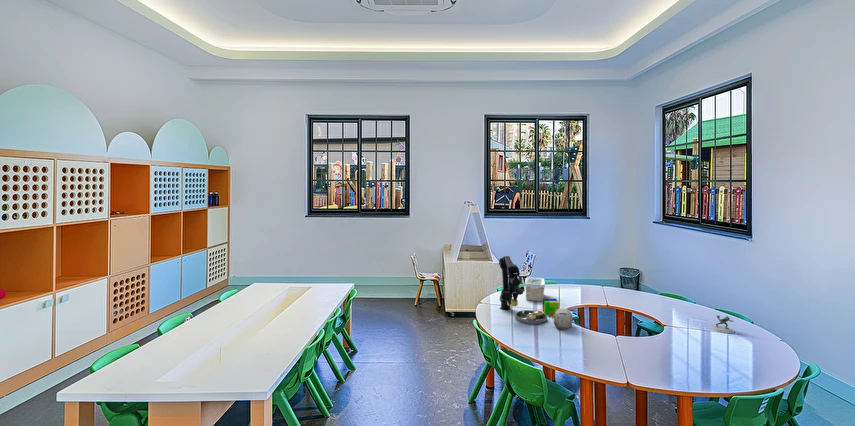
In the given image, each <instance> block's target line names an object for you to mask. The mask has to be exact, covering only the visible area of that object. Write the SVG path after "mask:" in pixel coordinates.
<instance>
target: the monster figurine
mask: <svg viewBox="0 0 855 426" xmlns="http://www.w3.org/2000/svg"><path fill="white" fill-rule="evenodd" d="M716 318H717V320H718V321H719V322H718V323H716V324H715V325H712V326H711V329H712V330H713V331H715V332H717V333H723V334H734V333H735V330H734V329H733V328H731V327H729V324H728V323H727V322H730V323H733V322H735V320H730V318H731V317H729V316H725V317H723V318H721V315H720V314H719V315H716ZM723 324H724V325H723Z"/></svg>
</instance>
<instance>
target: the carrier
mask: <svg viewBox="0 0 855 426" xmlns="http://www.w3.org/2000/svg"><path fill="white" fill-rule="evenodd" d="M514 316H515V317H514V318H515V321H517V322H519V323H521V324H525V325H542V324H545V323H546V322H547V320H548V317H547V316H548V315H546V314H544V312H543V310H542V311H541V310H532V309H531V310H529V309H524V310H518V311H517V312H515V313H514Z"/></svg>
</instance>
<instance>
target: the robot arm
mask: <svg viewBox="0 0 855 426" xmlns="http://www.w3.org/2000/svg"><path fill="white" fill-rule="evenodd" d="M498 265H499V268H500V270H501V276H502V277H501V279H502V289H501V291H500V295H499V301H500V307H499V309H500V310H505V311H508V310H510V309H511V308H512V306H508V304H507V301H508V303H509V305H511V299H517V300H518V296H521V295H523V294H524V292H526V288H525V286H524V285H523V286H520V284H521V280H520V278H519V277H520V275H521V274H520V269H519V267H518V266H517V264H514V262H513V260H512V259H511V256H509V255H505V256H503V257H501V258H499V259H498Z"/></svg>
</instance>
